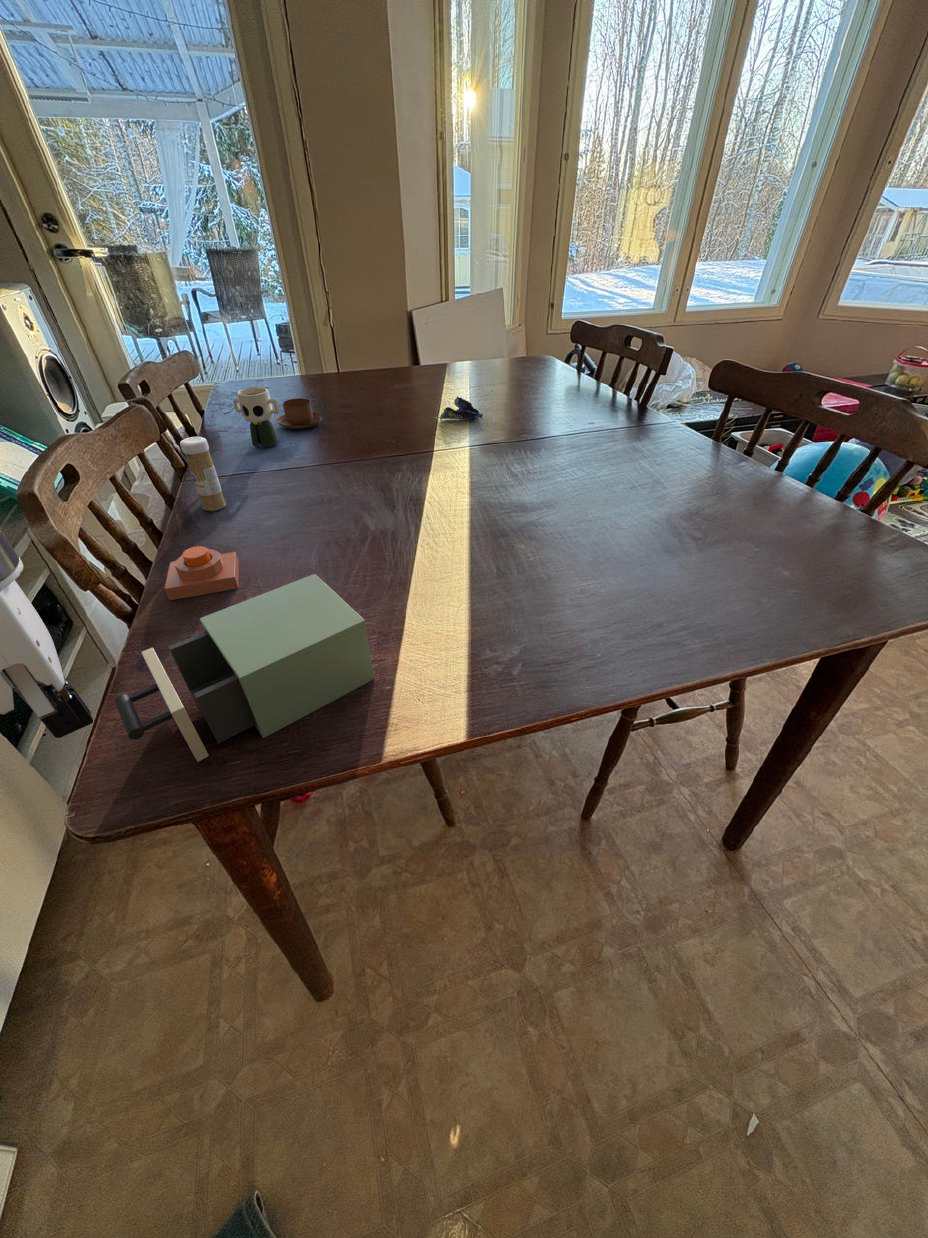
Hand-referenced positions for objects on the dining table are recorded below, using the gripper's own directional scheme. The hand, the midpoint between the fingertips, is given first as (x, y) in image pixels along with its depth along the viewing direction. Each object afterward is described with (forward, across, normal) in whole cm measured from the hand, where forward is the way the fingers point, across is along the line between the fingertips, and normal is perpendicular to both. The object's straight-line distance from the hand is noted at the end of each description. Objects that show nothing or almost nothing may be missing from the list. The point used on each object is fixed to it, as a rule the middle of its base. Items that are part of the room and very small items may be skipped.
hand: (74, 725), depth 49 cm
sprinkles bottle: (+8, -56, +30) cm, 64 cm away
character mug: (+8, -82, +52) cm, 98 cm away
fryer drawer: (+7, 0, +12) cm, 14 cm away
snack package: (+9, -67, +103) cm, 123 cm away
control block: (+8, -30, +20) cm, 37 cm away
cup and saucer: (+8, -91, +65) cm, 112 cm away
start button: (+4, -30, +20) cm, 36 cm away
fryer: (+8, 0, +22) cm, 23 cm away
